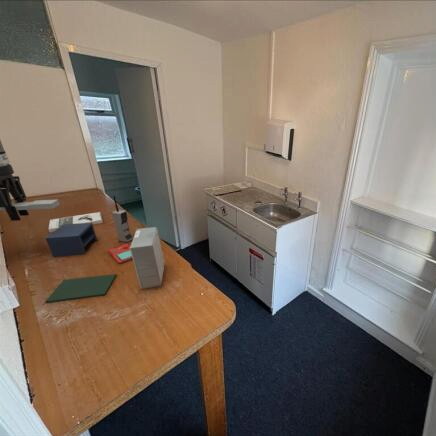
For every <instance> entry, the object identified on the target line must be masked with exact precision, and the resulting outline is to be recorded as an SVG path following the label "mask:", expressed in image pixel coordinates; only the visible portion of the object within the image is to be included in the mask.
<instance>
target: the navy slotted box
mask: <svg viewBox="0 0 436 436" xmlns="http://www.w3.org/2000/svg"><path fill="white" fill-rule="evenodd" d="M45 241H46V243H47V245H48V247H49V250H50V252H51V254H52V257H53V258H57V257H68V256H78V255H86V254H87V252H86V249H85V247H86V246H87V245H88V244H89V243H90V242H95V241H98V237H97V234H96V231H95V228H94V225H93V224H92V223H77V224H63V225H61V226H60V227H59V228H58V229H56V230H55V231H54V232H50V234H49V235H47V236H46V237H45Z"/></svg>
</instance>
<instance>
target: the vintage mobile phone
mask: <svg viewBox="0 0 436 436" xmlns="http://www.w3.org/2000/svg"><path fill="white" fill-rule="evenodd" d="M112 198H113V201H114V206H115V210H113V211H112V212H111V216H112V219H113V224H114V226H115V230H116V234H117V238H118V241H119V242H123V243H128V242H129V243H130V242H131V241H133V238H134V236H133V235H132V234H131V231H130V227H129V223H128V214H127V213H128V212H127V210H124V209H123V210H122V209H119V206H118V203H117V200H116V195H113V197H112Z"/></svg>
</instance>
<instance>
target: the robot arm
mask: <svg viewBox="0 0 436 436" xmlns="http://www.w3.org/2000/svg"><path fill="white" fill-rule="evenodd" d="M10 163H11V162H10V159H9V156H8V155H7V153H6V150H5V148H4V146H3V143H2V141H1V139H0V207H4V208H5V209H6V211H5V212H6V214H7V215H8V217H9V219H10V222H15V221H16V222H17V221H21V220H22V219H21V217H20V216H22V217H23V216H25V217H26V216H29V215H30V213H29V211H28V210H16V208H15V206H12V203H22V202H26V201H27V195H26V193H25V190H24V187H23V186H22V183H21V180H20V176H18V175H13V174H14V173H15V171H14V168H13V166H12V164H10ZM11 197H12V198H13V200H14V201H13V202H12V199H11Z"/></svg>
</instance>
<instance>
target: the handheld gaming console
mask: <svg viewBox="0 0 436 436" xmlns="http://www.w3.org/2000/svg"><path fill="white" fill-rule="evenodd" d="M130 246H131V244H129V243H128V242H126V243H123V244H121V245H118V246H114V247H112V248H108V249H107V253H108V254H109V256H111V257H112V259H114V260H115V262H116V263H117V264H119V265H121V264H123V263H127V262H129V261H133V259H132V255H131V251H130Z"/></svg>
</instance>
